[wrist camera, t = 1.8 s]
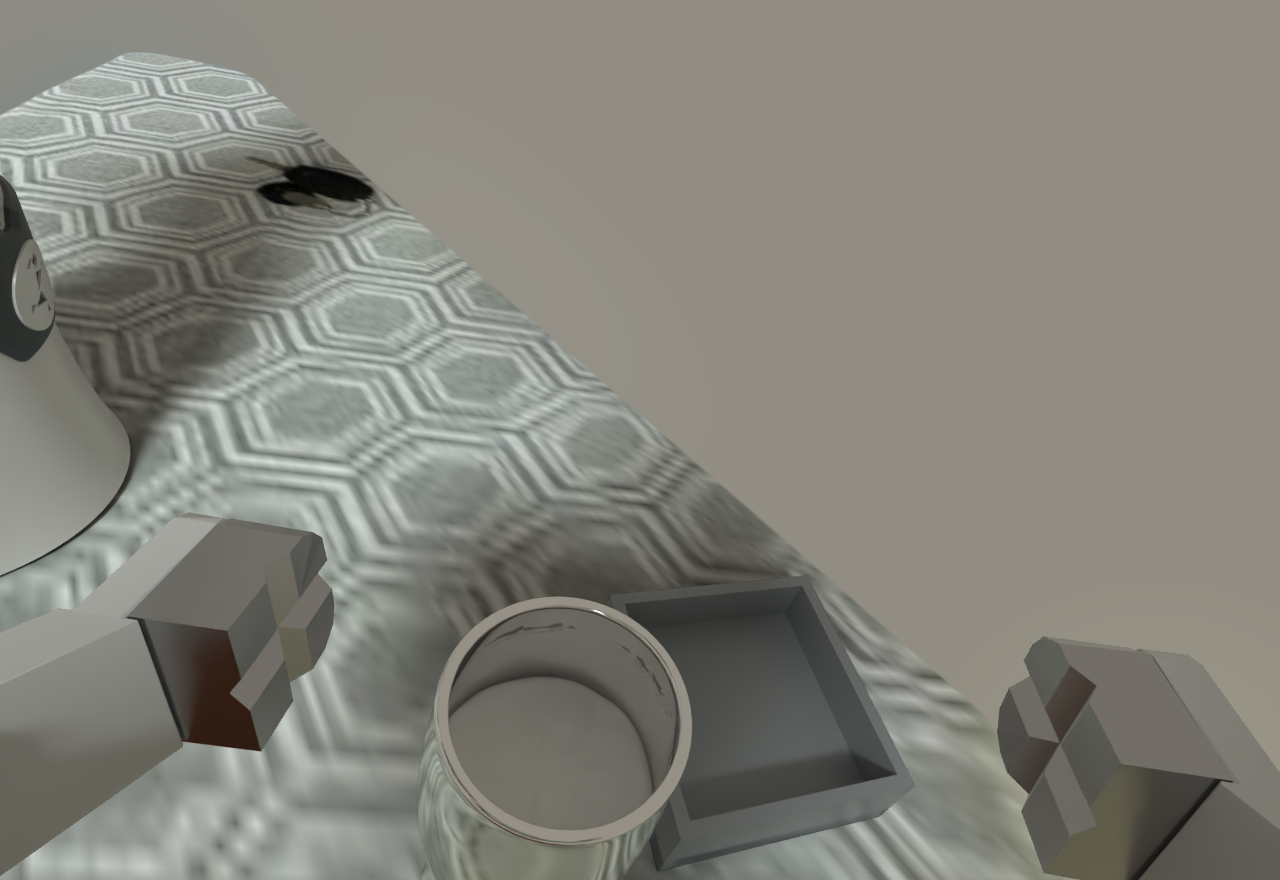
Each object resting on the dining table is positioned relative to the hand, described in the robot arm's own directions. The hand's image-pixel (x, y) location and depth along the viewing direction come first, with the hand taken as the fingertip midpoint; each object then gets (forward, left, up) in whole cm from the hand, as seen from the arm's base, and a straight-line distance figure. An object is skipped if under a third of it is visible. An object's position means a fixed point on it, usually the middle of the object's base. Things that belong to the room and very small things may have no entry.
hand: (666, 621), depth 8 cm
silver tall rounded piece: (+2, +4, -25) cm, 26 cm away
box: (+14, +9, -25) cm, 30 cm away
